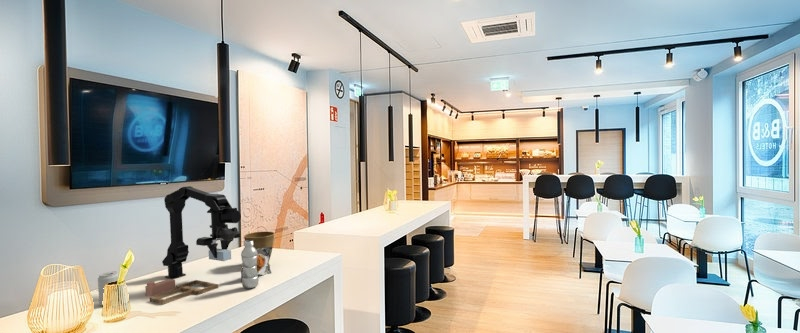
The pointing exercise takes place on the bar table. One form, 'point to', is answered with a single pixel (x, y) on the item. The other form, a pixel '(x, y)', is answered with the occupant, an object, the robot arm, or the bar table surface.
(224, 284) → the bar table surface
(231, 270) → the bar table surface
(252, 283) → the plastic bottle
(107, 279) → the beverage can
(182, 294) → the jig
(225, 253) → the light blue rectangular block
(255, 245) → the plant pot
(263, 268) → the meal
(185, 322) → the bar table surface
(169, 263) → the robot arm
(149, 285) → the block
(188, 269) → the bar table surface
